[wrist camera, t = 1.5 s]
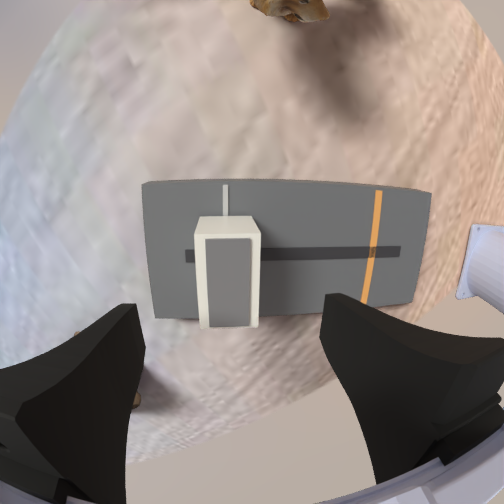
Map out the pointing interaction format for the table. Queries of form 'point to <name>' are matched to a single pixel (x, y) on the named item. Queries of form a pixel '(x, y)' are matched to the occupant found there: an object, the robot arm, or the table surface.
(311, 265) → the fader console
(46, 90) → the table surface
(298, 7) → the lion figurine
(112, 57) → the table surface
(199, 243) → the fader knob
